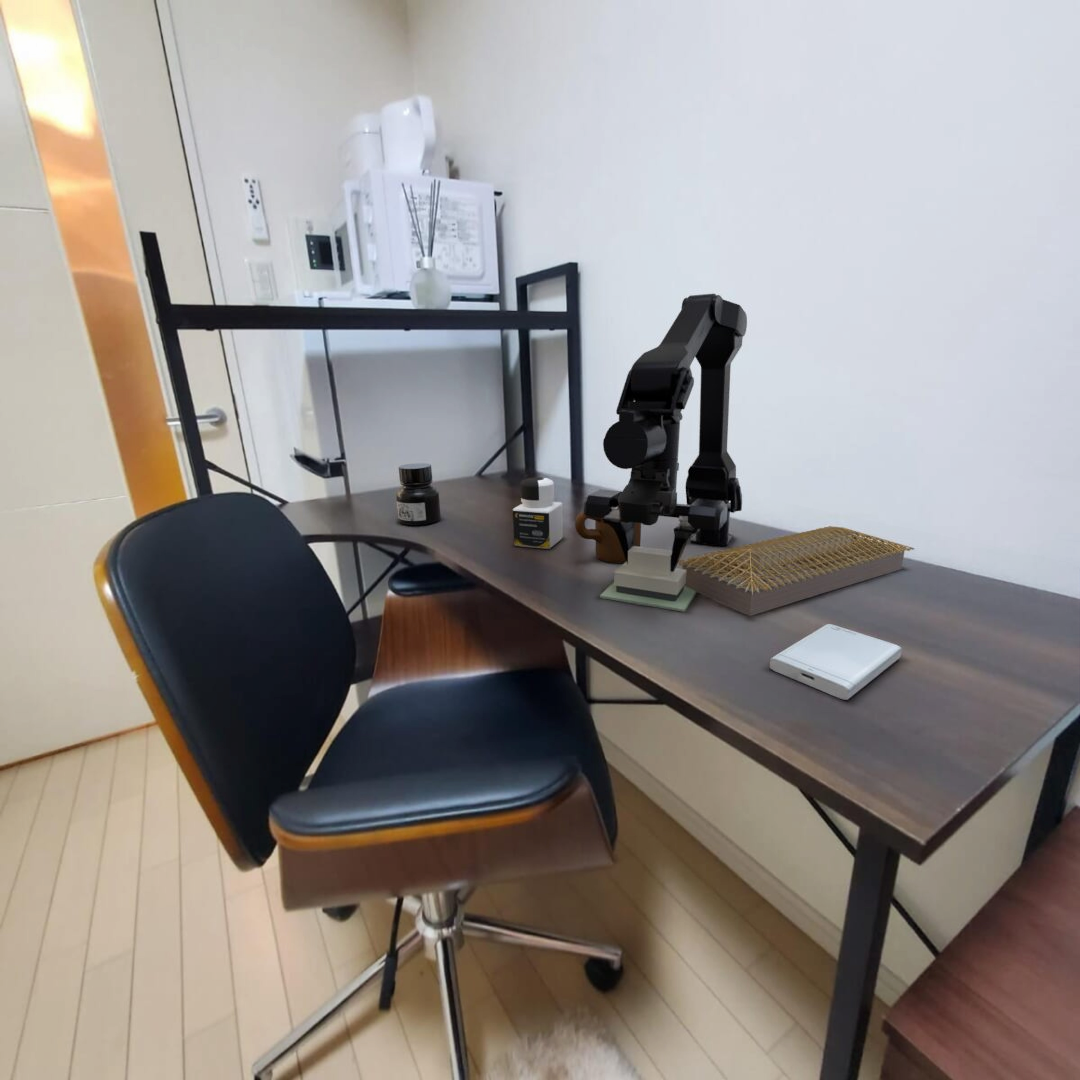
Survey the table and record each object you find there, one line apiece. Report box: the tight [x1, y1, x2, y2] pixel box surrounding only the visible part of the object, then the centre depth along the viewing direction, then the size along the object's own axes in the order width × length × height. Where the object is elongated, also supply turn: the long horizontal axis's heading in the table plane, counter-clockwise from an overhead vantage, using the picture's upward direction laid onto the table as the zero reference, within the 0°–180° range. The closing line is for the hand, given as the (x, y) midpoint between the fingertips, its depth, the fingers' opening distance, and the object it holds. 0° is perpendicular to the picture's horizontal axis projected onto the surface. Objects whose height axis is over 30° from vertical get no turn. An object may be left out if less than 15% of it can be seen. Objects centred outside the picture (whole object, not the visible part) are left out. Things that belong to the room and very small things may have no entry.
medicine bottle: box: [512, 476, 564, 550], centre depth 105 cm, size 7×7×12 cm
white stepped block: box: [613, 546, 687, 601], centre depth 81 cm, size 5×9×6 cm, turn 63°
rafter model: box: [678, 525, 915, 616], centre depth 85 cm, size 35×14×6 cm, turn 119°
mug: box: [574, 509, 642, 564], centre depth 96 cm, size 12×8×9 cm, turn 117°
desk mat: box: [599, 581, 698, 613], centre depth 82 cm, size 9×12×1 cm
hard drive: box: [769, 623, 902, 701], centre depth 62 cm, size 2×8×12 cm
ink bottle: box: [395, 462, 442, 526], centre depth 122 cm, size 10×9×12 cm
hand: (650, 567), depth 81 cm, fingers closed on white stepped block, 6 cm apart
